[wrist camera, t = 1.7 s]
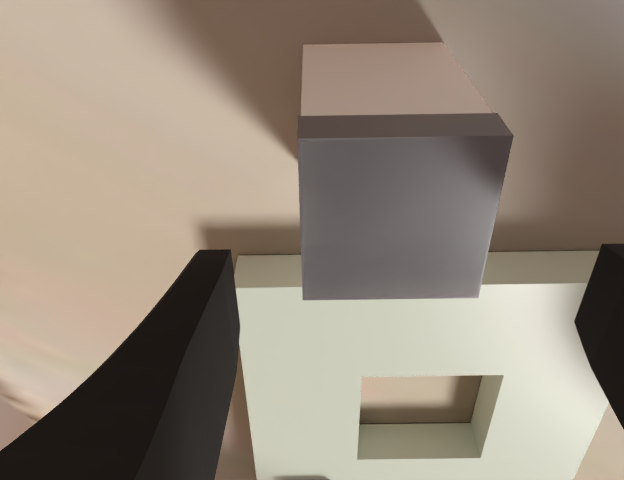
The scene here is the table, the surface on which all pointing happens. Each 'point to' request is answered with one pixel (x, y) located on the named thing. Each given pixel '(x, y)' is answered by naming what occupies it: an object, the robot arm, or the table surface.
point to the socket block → (420, 374)
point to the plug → (395, 173)
